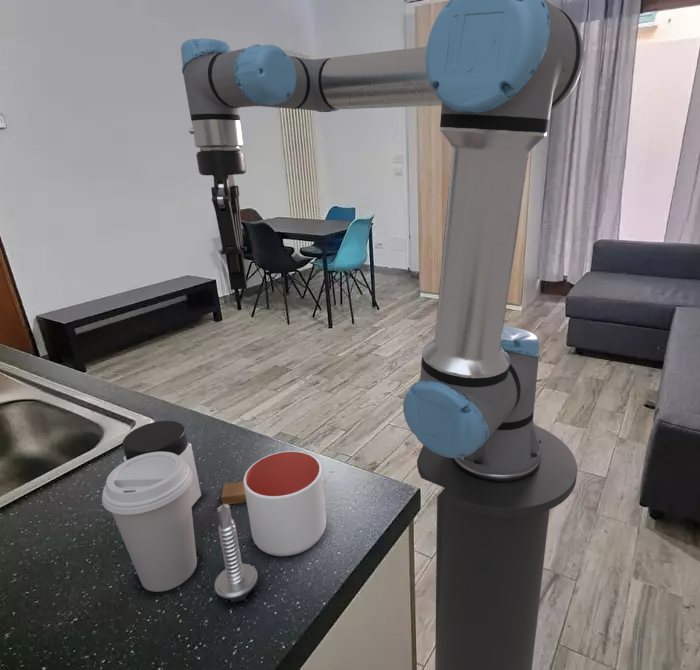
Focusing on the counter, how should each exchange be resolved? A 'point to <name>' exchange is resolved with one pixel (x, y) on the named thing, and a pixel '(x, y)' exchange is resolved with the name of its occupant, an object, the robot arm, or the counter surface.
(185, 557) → the coffee cup
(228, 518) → the screw
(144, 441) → the jar
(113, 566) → the counter surface
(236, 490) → the brown wooden bar
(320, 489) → the cup
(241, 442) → the counter surface
